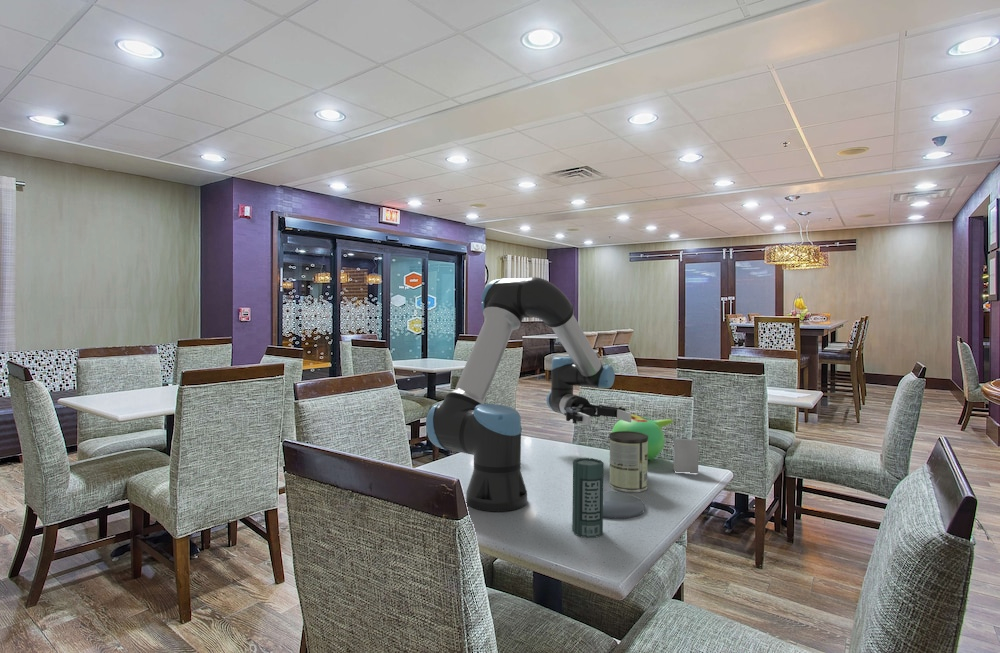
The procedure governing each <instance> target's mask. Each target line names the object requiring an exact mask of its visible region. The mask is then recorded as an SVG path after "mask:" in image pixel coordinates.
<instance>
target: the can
mask: <svg viewBox="0 0 1000 653" xmlns="http://www.w3.org/2000/svg"><path fill="white" fill-rule="evenodd" d="M604 466H605V465H604V462H603V461H602V460H601V459H598V458H590V457H580V458H576V459H573V460H572V511H571V512H572V515H571V516H572V529H571V530H572V532H573V534H574V535H577V536H578V537H582V538H586V539H587V538H588V539H589V538H591V539H592V538H597V537H600V536H602V535H603V532H604V529H603V526H604V523H603V522H604V517H603V491H604Z"/></svg>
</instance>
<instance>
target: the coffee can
mask: <svg viewBox="0 0 1000 653" xmlns="http://www.w3.org/2000/svg"><path fill="white" fill-rule="evenodd" d="M648 461H649V459H648V435H646V434H643V433H639V432H631V431H618V432H612V431H611V432H610V433H609V483H608V486H609V487H610V488H611V489H614V490H615V491H618V492H623V493H625V492H626V493H640V492H641V491H642V492H644V491H646V490H647V489H648Z"/></svg>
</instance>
